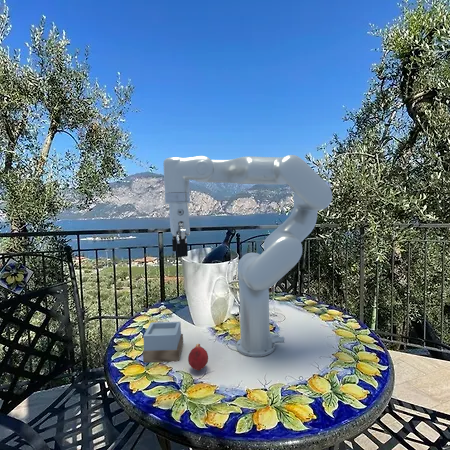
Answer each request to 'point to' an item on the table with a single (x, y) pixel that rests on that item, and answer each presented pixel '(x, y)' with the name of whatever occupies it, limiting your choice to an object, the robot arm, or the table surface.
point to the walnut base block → (163, 354)
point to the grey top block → (162, 336)
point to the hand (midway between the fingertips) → (179, 253)
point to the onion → (198, 357)
